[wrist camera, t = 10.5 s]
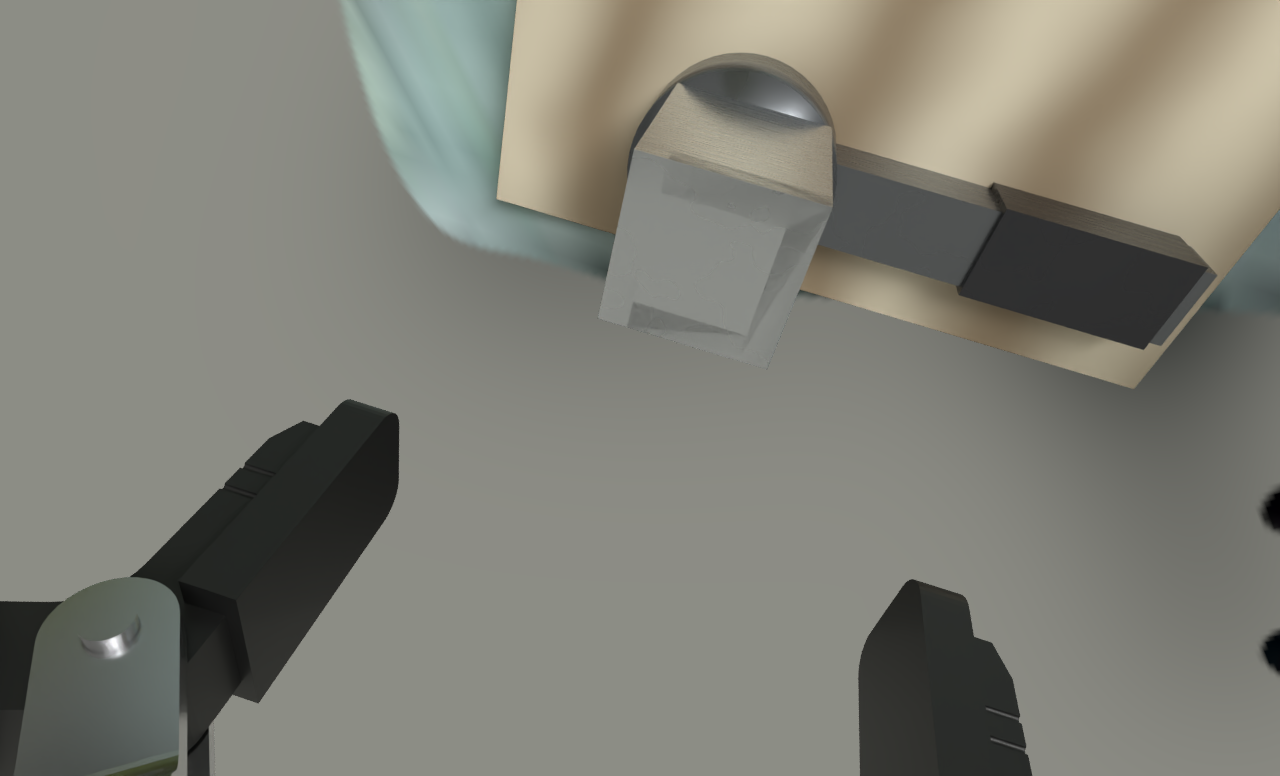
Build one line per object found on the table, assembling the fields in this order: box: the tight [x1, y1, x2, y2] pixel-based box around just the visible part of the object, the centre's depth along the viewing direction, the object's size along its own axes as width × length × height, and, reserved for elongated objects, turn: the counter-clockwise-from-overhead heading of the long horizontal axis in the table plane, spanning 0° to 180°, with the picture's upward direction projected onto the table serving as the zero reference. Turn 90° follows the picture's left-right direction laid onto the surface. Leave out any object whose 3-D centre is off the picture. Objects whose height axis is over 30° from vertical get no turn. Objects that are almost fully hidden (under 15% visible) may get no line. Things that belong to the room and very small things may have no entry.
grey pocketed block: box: [598, 83, 833, 369], centre depth 20 cm, size 5×5×6 cm
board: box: [497, 0, 1280, 389], centre depth 22 cm, size 24×16×1 cm, turn 77°
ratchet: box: [627, 52, 1218, 350], centre depth 22 cm, size 18×6×7 cm, turn 77°
